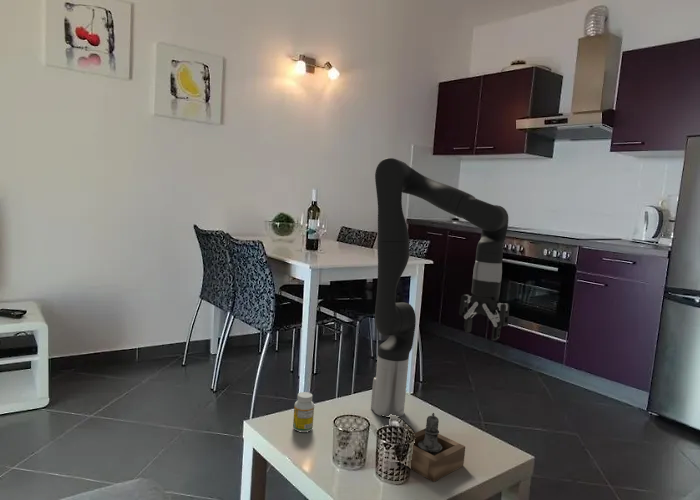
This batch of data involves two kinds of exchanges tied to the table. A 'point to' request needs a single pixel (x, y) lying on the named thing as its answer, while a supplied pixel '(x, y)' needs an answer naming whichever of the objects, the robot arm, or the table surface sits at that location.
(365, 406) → the table surface
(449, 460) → the walnut holder
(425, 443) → the dark grey chess piece
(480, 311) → the robot arm
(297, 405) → the supplement bottle
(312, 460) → the table surface
